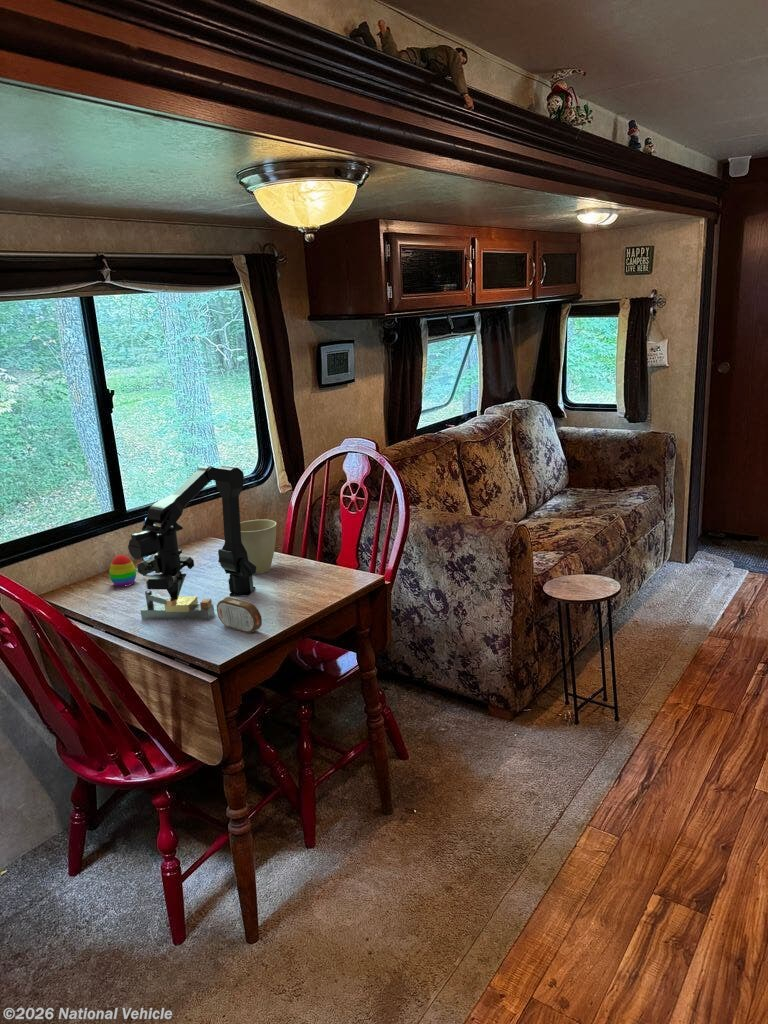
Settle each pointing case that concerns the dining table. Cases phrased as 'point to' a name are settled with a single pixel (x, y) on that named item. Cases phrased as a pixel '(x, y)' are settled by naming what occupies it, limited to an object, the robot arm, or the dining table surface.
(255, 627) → the tin
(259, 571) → the plant pot
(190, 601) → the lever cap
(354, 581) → the dining table surface
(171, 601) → the cam lever
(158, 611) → the plane body
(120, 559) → the decorative egg
